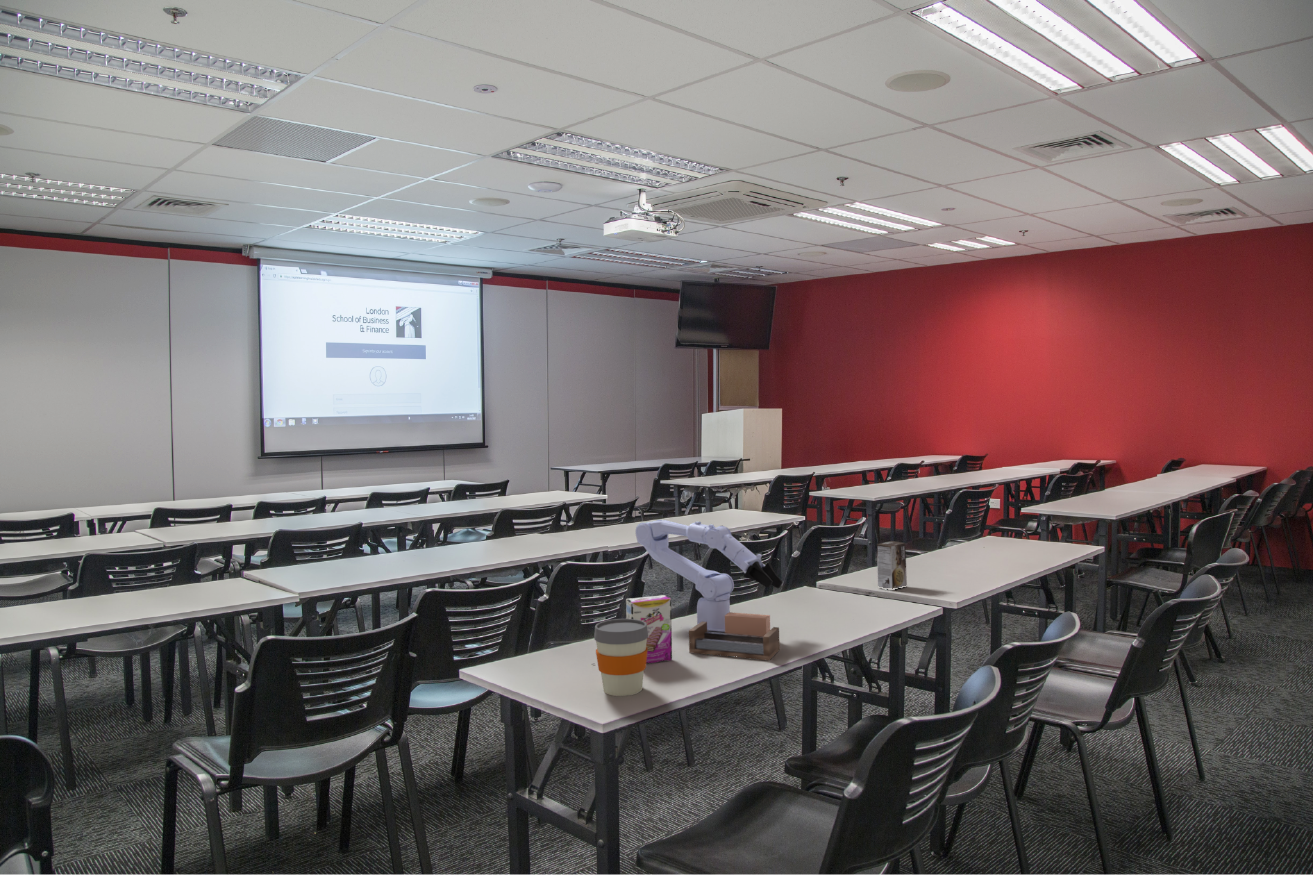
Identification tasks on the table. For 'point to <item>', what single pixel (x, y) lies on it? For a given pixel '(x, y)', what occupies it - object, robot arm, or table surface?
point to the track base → (733, 643)
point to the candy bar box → (654, 624)
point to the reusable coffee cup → (621, 655)
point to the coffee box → (891, 564)
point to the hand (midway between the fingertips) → (775, 585)
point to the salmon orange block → (747, 624)
